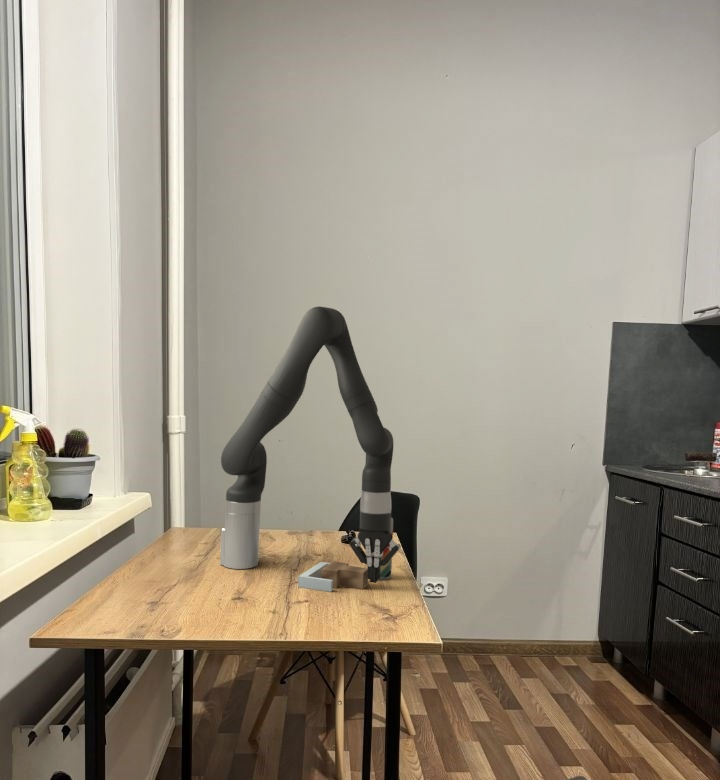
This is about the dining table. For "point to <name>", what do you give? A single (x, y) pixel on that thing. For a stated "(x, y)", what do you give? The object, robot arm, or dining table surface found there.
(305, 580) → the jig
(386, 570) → the lotion bottle
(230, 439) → the robot arm
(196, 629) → the dining table surface
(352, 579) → the t block
